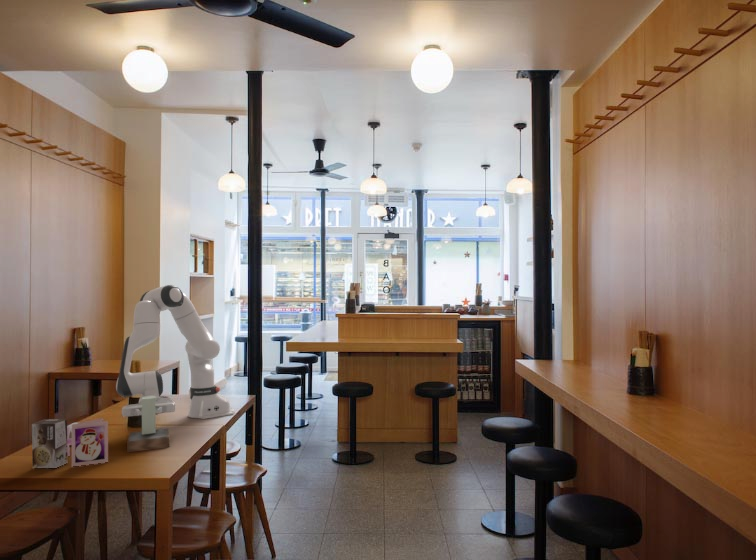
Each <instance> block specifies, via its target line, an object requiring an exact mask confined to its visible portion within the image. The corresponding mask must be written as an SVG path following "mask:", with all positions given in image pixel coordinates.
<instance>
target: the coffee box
mask: <svg viewBox="0 0 756 560" xmlns="http://www.w3.org/2000/svg"><path fill="white" fill-rule="evenodd" d="M67 426H68V418H47V419H46V418H43V419H42V420H41V419H40V420H38V421H36V422H33V423H31V437H32V438H31V441H32V442H31V447H32V450H31V451H32V455H31V456H32V468H33V467H35V468H57V467H59V466H61V465H63V466H65V465H64V464H66V463H67V464H68V457H67ZM67 464H66V465H67ZM61 467H62V466H61ZM59 468H60V467H59ZM57 469H58V468H57Z"/></svg>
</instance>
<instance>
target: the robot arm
mask: <svg viewBox="0 0 756 560" xmlns="http://www.w3.org/2000/svg"><path fill="white" fill-rule="evenodd" d="M166 310H168V311H169V312H170V314H171V316H172V318H173V320H174V321H175V324H176V325H177V328H178V329H179V332H180V333H181V335H182V336H183V337H184V338H185V340H186V343H185V346H184V347H185V348H184V349H185V353H187V359H188V360H187V361H188V364H189V370H190V387H189V388H190V389H189V399H190V402H189V410H188V413H187V417H188V418H192V419H202V420H204V419H205V420H206V419H211V418H213V419H214V418H219V417H225V416H232V415H234V414H235V412H236V411H235V409H234V408H233V407H231V403H230V401H229V399H228V398H226V396H224V395H222V394H221V393H219V392H220V390H221V389H220V387H219V386H217V385H215V370H214V367H213V365H212V361H211V360H212V359H215V358H216V357H218V355H219V354H220V351H221V347H220V344H219V343H218V341H216V339H215V338H214V337H213V335H212V333H211V332H210V331H209V330H208V328H207V327H206V326H205V324H204V323H203V321H202V319H201V317H200V315H199V313H198V311H197V309H196V308H195V305H194V304H193V302H192V301H191V299H190V298H189V297H188V295H187V294H185V292H183V291H182V290H181V288H179V286H177V285H175V284H167V285H164V286H159V287H156V288H153V289H151V290H147V291H146V292H144V293H143V294H142V295H141V297H140V300H139V302H137V303H136V304H135V307H134V312H133V321H132V322H133V324H132V325H133V326H132V327H133V329H132V332H131V334H130V336H128V337H126V339H125V341H124V344H123V349H122V355H121V361H120V367H119V373H118V377H117V380H116V383H115V389H116V393H117V394H118V395H119V396H121V397H123V398H128V397H132V396H139V395H141V396H140V397H139V400H138V403H135V404H126V405H124V406H122V408H121V417H123V418H127V417H139V416H141V417H142V397H148V396H155V408H156V409H155V414H156V416H157V415H160V414H161V415H162V414H166V413H167V414H168V413H174V412H176V402H175V401H174V400H173V399H172V397H171V396H164V395H162V394H163V392H164V383H163V382H164V381H163V377H162V375H161V373H159V372H158V371H157V370H152V371H150V370H149V371H142V372H130V371H131V367H132V360H133V355H134V354H135V352H136V351H138V350H139V349H141V348H144V347H146V346H148V345H150V344H152V343H154V342H155V341H156V340H157V339H158V338H159V337H160V332H161V318H160V314H161V312H164V311H166Z"/></svg>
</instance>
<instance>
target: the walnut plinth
mask: <svg viewBox="0 0 756 560" xmlns="http://www.w3.org/2000/svg"><path fill="white" fill-rule="evenodd" d="M169 430H170V429H169V428H167V427H166V428H165V427H164V428H156V433H151V434H142V430H140V431H130V432H129V433H128V437H127V445H126V447H127V448H126V449H127V451H126V452H127V453H132V452H139V451H147V450H156V449H161V448H163V449H164V448H170V431H169Z"/></svg>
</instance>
